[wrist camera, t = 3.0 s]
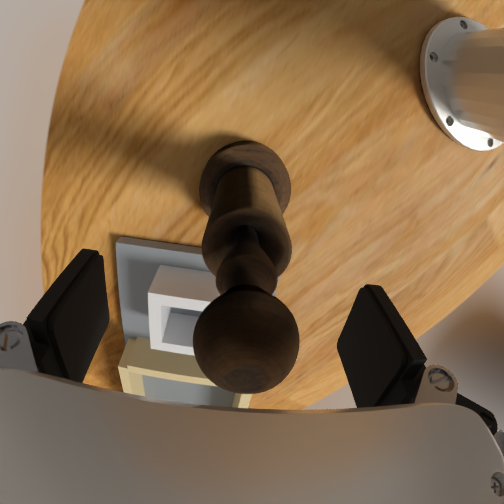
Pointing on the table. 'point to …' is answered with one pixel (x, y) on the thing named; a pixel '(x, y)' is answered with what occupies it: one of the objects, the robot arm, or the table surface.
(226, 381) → the brown pepper mill
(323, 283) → the table surface
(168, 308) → the socket board
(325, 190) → the table surface
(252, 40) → the table surface
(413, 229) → the table surface
